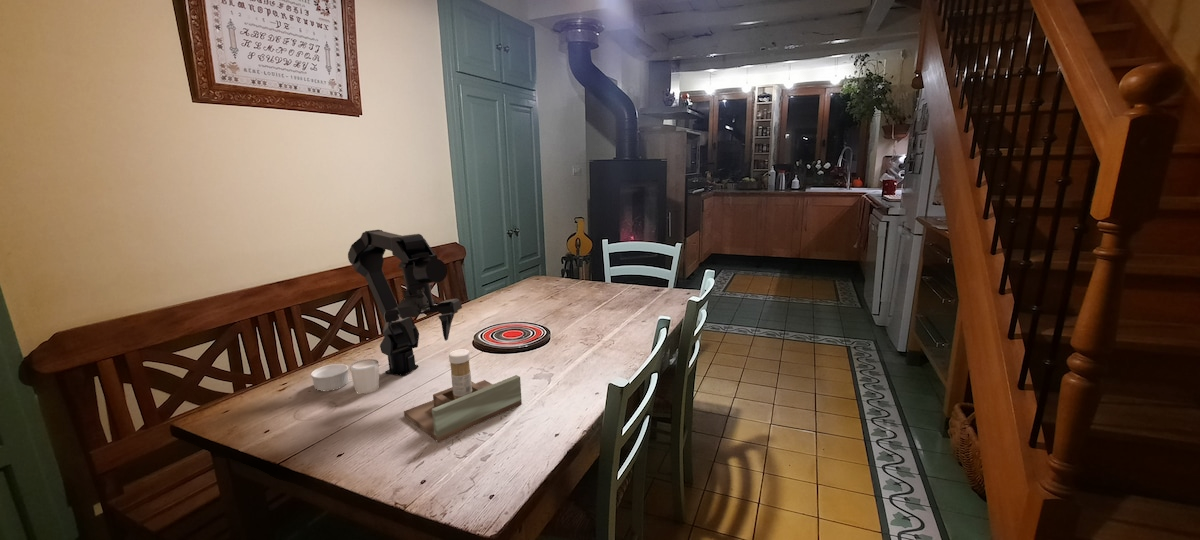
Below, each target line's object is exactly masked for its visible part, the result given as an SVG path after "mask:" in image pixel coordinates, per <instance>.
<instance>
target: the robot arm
mask: <svg viewBox="0 0 1200 540" xmlns="http://www.w3.org/2000/svg"><path fill="white" fill-rule="evenodd" d="M386 250H387V251H390V252H391V253H392V255H393V257H395V258H397V259H398V260H400V263H398V268H399V269H401V270H402V275H403V279H404V284H405V289H406V290H405V289H404V291H403V292H404V293H403V295H404V297H403V299H402V300H401V301H400V302H399V303H398V302H397V300H396V298H395V296H394V294H393V291H392V289H391V286H390V285H389V283H388V280H387V278H386V276H385V273H384V270H383V267H384V261H385V258H384V254H385V253H386ZM347 259H348V262H349V263H350V264H351V265H352V267H353V269H354V271H355V272H357V273H358V274H359V275H361V276H362V277H364V278H365V280H366V282H367V285H368V287H369V290H370V291H371V293H372V296H373V298H374V300H375V303H376V306H377V307H378V309H379V312H380V314H381V316H382V318H383V320H384V326H383V329H382V334H383V339H382V341H381V342H380V344H379V348H380V351H381V353H382V354H383V355H386V356H387V362H388V369H386V370H385V374H388V375H395V376H400V377H403V376H406V375H408V374H409V373H411V372H413V371H414V370H416V369H418V368H419V365H418V364H416V359H415V354H414V348H415V349H416V348H418V347H419V340H420V333H419V329H418V328H417V326H416V324H415V322H414V319H413V318H417V317H419V316H420V315H424V314H430V313H436V312H438V313H439V314H440V315H439V316H438V317H437V318H439V320H440V322H441V328H442V335H443V336H442V337H443V338H444V341H448V340H449V336H450V330H451V327H452V322H453V319H454V317H455V315H456V314H457V313H458V312H459V311H460V310H461V309H462V307H463V306H462V302H461V300H460V299H459V298H451V299H446V300H442V301H441V302H438V303H437V302H436V299H433V298H434V297H433V294H432V289H434V288H433V283H440V282H441V283H442V282H443V281H444V280H445V279H446V277H447V275H448V267H447V265H446V264H445V263H444V260H443V261H442V260H441V259H439V258H438V255H437V254H435V252H434V249H432V247H431V246H430V245H429V243H428V242H427V240H426V238H424V236H423V235H422V234H420V233H414V234H406V235H405V234H404V235H400V234H397V233H392V232H388V231H384V230H382V229H373V230H365V231H364V232H362V233H361V235H360V237H359V238H358V239H357V240H356V241H355V242H354V243H352V244H351V245H350V248H349V249H348V252H347ZM436 303H437V304H436Z"/></svg>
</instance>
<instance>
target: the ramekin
mask: <svg viewBox="0 0 1200 540" xmlns="http://www.w3.org/2000/svg"><path fill="white" fill-rule="evenodd" d="M349 370H350V366H349V365H346V364H344V363H333V364H327V365H324V366H320V367H317V368H316V369H314V370H312V372H311V373H310V377H311V379H312V381H313V386H314V389H315V390H316V389H317V390H316V391H318V390H322V391H321V392H324V391H323V390H332V391H334V390H333V389H336V390H338V389H337V388H339V387H341V388H343V387H345V386H346V385H347V384H348V383H349ZM345 384H346V385H345ZM344 385H345V386H344ZM342 386H343V387H342ZM339 389H340V388H339Z"/></svg>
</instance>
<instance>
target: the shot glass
mask: <svg viewBox="0 0 1200 540" xmlns="http://www.w3.org/2000/svg"><path fill="white" fill-rule="evenodd" d="M379 366H380V363H379V360H377V359H373V358H367V359H363V360H359V361H358V360H357V361H355V362H353V363H351V364H350V365H349V370H350V371H349V372H350V374H351V378H352V383H353V387H354V390H356V391H355V393H356V392H358V393H357V394H359V393H366V394H369V393H368V392H371V393H373V392H376V391H377V390H378V389H379V387H380V367H379ZM375 390H376V391H375ZM372 391H373V392H372Z"/></svg>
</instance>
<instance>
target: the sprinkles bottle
mask: <svg viewBox="0 0 1200 540" xmlns="http://www.w3.org/2000/svg"><path fill="white" fill-rule="evenodd" d="M470 356H471V355H470V351H469V350H468V349H465V348H464V349H463V348H460V349H455V350H452V351H451V352H449V355H448V358H449V359H448V360H449V361H448V362H449V363H450V371H451V373H450V374H451V375H450V376H451V385H452V386H451V387H452V388H453V395H454V400H455V399H458V398H460V397H463V396H465V395H468V394H470V393H472V383H471V381H472V374H471V365H470V358H471V357H470Z"/></svg>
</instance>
